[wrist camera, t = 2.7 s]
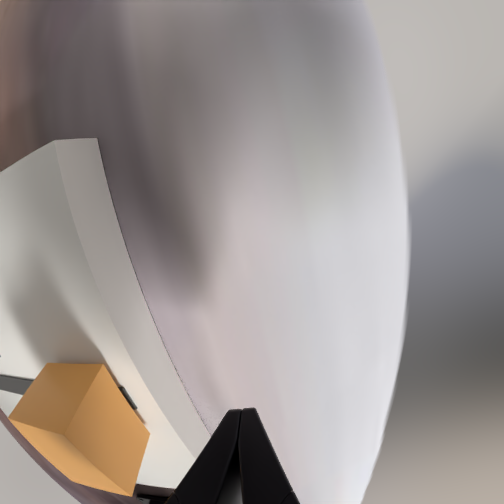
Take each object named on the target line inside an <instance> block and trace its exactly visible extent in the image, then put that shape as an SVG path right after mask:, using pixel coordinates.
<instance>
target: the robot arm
mask: <svg viewBox="0 0 504 504" xmlns="http://www.w3.org/2000/svg"><path fill="white" fill-rule="evenodd" d="M136 499H138V500H139V501H140V502H142V503H143V504H300V503H299V501H298V499H297V497H296V495H295V493H294V491H293V489H292V487H291V485H290V483H289V481H288V479H287V477H286V474H285V472H284V470H283V468H282V466H281V464H280V462H279V460H278V457H277V455H276V453H275V451H274V449H273V447H272V444H271V442H270V440H269V438H268V435H267V433H266V431H265V429H264V426H263V424H262V422H261V420H260V417H259V415H258V413H257V410H256V408H244V409H243V410H242V409H232V410H229V411H228V412H227V413H226V415H225V416H224V418H223V419H222V421H221V422H220V424H219V426H218V427H217V429H216V430H215V432H214V433H213V435H212V436H211V438H210V439H209V441H208V442H207V444H206V445H205V447H204V449H203V450H202V451H201V453H200V454H199V456H198V457H197V459H196V460H195V462H194V463H193V465H192V466H191V468H190V469H189V471H188V472H187V473H186V475H185V476H184V478H183V479H182V481H181V482H180V483H179V485H178V486H177V488H176V489H175V490H174V493H172V494H171V496H170V497H169V498H168V499H166V498H159V497H152V496H145V495H139V494H137V497H136Z"/></svg>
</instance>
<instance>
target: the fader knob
mask: <svg viewBox="0 0 504 504" xmlns="http://www.w3.org/2000/svg"><path fill="white" fill-rule="evenodd" d="M8 419H9V420H10V421H11V422H12V424H13V425H14V426H15V427H16V428H17V429H18V430H19V431H20V433H21V434H22V435H23V436H24V437H25V438H26V439H27V440H28V441H29V442H30V443H31V444H32V445H33V446H34V447H35V448H36V449H37V450H38V451H39V452H40V453H41V454H42V455H43V456H44V457H45V458H46V459H47V460H48V461H49V462H50V463H52V464H53V465H54V466H55V467H56V468H57V469H58V470H59V471H61V472H62V473H63V474H64V475H65V476H67V477H68V478H69V479H70V480H71V481H74V482H77V483H80V484H83V485H86V486H90V487H93V488H97V489H100V490H104V491H108V492H112V493H117V494H121V495H126V496H131V497H132V495H133V491H134V487H135V484H136V480H137V477H138V473H139V470H140V467H141V463H142V460H143V456H144V453H145V450H146V446H147V443H148V440H149V437H150V432H149V431H148V430H147V429H146V427H145V426H144V425H143V423H142V422H141V420H140V419H139V418H138V416H137V415H136V414H135V412H134V411H133V409H132V408H131V406H130V405H129V403H128V402H127V401H126V399H125V398H124V396H123V395H122V393H121V391H120V390H119V388H118V387H117V385H116V384H115V382H114V380H113V379H112V377H111V376H110V374H109V372H108V371H107V369H106V367H105V366H104V364H70V363H47V364H46V365H45V366H44V368H43V369H42V370H41V372H40V373H39V374H38V376H37V377H36V378H35V380H34V381H33V382H32V384H31V385H30V387H29V388H28V389H27V391H26V392H25V394H24V395H23V396H22V398H21V399H20V401H19V402H18V404H17V405H16V407H15V408H14V409H13V411H12V412H11V414H10V415H9V417H8Z"/></svg>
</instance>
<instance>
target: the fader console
mask: <svg viewBox="0 0 504 504" xmlns="http://www.w3.org/2000/svg"><path fill="white" fill-rule="evenodd" d="M47 363H70V364H104V366H105V367H106V369H107V371H108V372H109V374H110V376H111V377H112V379H113V380H114V382H115V384H116V385H117V387H118V388H119V390H120V391H121V393H122V395H123V396H124V398H125V399H126V401H127V402H128V403H129V405H130V406H131V408H132V409H133V411H134V412H135V414H136V415H137V416H138V418H139V419H140V420H141V422H142V423H143V425H144V426H145V427H146V429H147V430H148V431H149V432H150V437H149V440H148V443H147V446H146V450H145V453H144V456H143V460H142V463H141V467H140V470H139V473H138V477H137V480H136V484H142V485H149V486H157V487H165V488H175V489H176V488H177V486H178V485H179V483H180V482H181V481H182V479H183V478H184V476H185V475H186V473H187V472H188V471H189V469H190V468H191V466H192V465H193V463H194V462H195V460H196V459H197V457H198V456H199V454H200V453H201V451H202V450H203V449H204V447H205V445H206V444H207V442H208V441H209V439H210V438H211V436H210V434H209V432H208V430H207V429H206V427H205V425H204V423H203V422H202V420H201V418H200V416H199V414H198V413H197V411H196V409H195V407H194V405H193V403H192V401H191V399H190V398H189V396H188V394H187V392H186V390H185V388H184V386H183V384H182V382H181V380H180V378H179V376H178V374H177V372H176V370H175V368H174V365H173V363H172V361H171V359H170V357H169V355H168V353H167V350H166V348H165V346H164V344H163V342H162V339H161V337H160V335H159V332H158V330H157V328H156V325H155V323H154V321H153V318H152V316H151V313H150V311H149V308H148V306H147V303H146V301H145V298H144V296H143V293H142V291H141V288H140V285H139V283H138V280H137V277H136V274H135V272H134V269H133V266H132V263H131V260H130V257H129V254H128V251H127V248H126V245H125V242H124V239H123V236H122V233H121V230H120V226H119V223H118V220H117V216H116V213H115V209H114V206H113V202H112V199H111V195H110V191H109V187H108V184H107V180H106V176H105V172H104V167H103V163H102V159H101V154H100V150H99V145H98V140H97V138H82V139H64V140H53V141H52V142H50V143H48V144H46V145H44V146H43V147H41V148H39V149H37V150H35V151H34V152H32V153H30V154H29V155H27V156H25V157H24V158H22V159H20V160H19V161H17V162H16V163H14V164H12V165H11V166H9V167H8V168H6V169H5V170H3V171H2V172H0V408H1V409H2V411H3V412H4V413H5V414H6V416H7V417H9V415H10V414H11V412H12V411H13V409H14V408H15V407H16V405H17V404H18V402H19V401H20V399H21V398H22V396H23V395H24V394H25V392H26V391H27V389H28V388H29V387H30V385H31V384H32V382H33V381H34V380H35V378H36V377H37V376H38V374H39V373H40V372H41V370H42V369H43V368H44V366H45V365H46V364H47Z"/></svg>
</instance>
